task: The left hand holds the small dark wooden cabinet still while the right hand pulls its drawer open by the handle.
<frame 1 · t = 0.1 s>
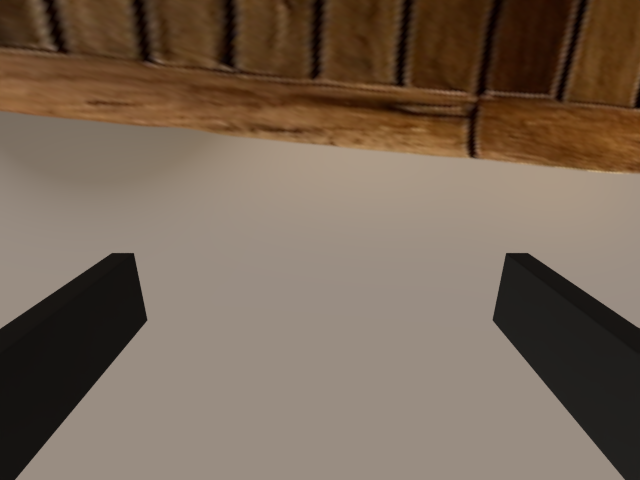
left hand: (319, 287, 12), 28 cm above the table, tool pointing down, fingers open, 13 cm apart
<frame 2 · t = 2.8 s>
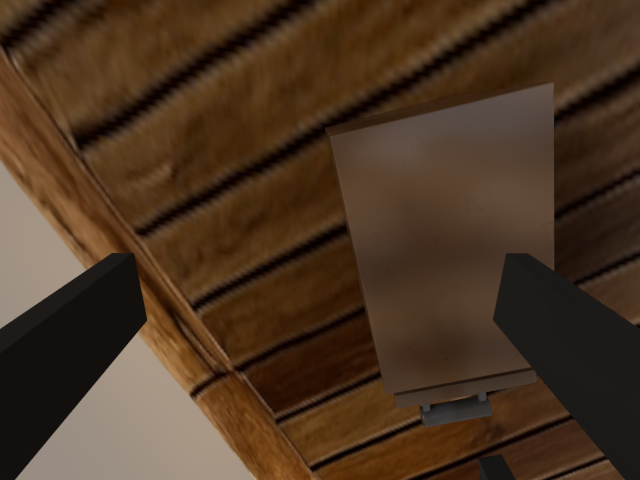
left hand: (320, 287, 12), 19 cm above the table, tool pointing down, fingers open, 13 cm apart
cabinet: (405, 209, 31), on the table
drawer: (435, 302, 28), point 6 cm above the table, slide at 1.3 cm
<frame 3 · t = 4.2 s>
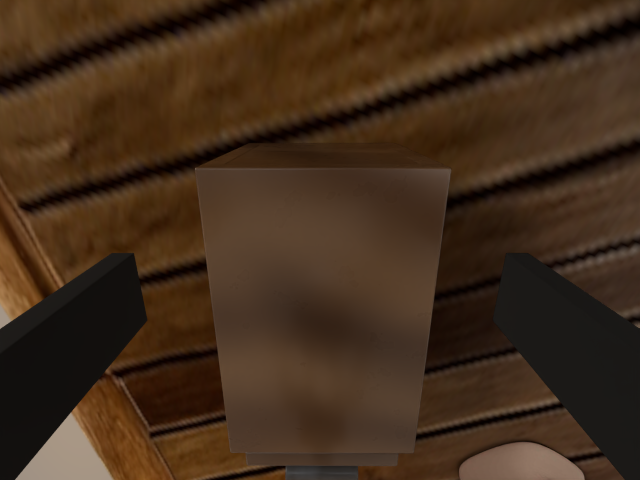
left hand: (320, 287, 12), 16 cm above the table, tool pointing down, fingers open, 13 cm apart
cabinet: (322, 248, 29), on the table
drawer: (321, 355, 26), point 6 cm above the table, slide at 1.3 cm
anatomical model: (516, 477, 39), on the table
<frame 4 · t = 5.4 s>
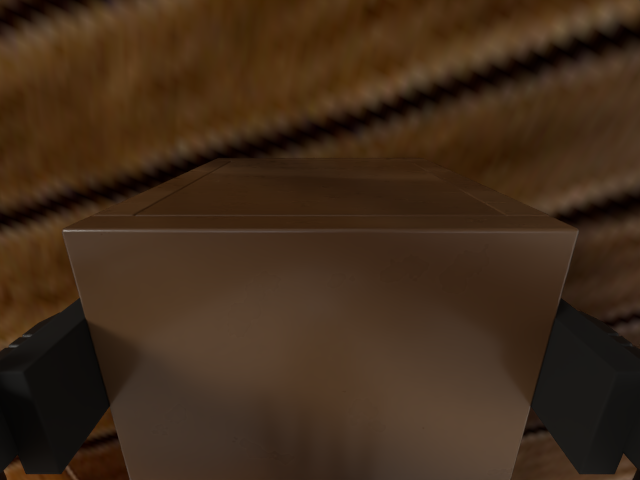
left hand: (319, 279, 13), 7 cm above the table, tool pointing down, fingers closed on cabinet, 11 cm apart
cabinet: (320, 297, 22), on the table, touching left hand
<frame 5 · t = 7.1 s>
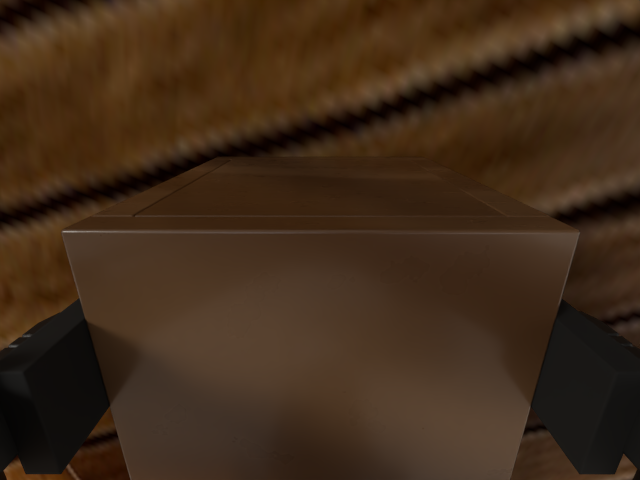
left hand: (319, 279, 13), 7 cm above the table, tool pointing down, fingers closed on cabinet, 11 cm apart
cabinet: (320, 296, 22), on the table, touching left hand
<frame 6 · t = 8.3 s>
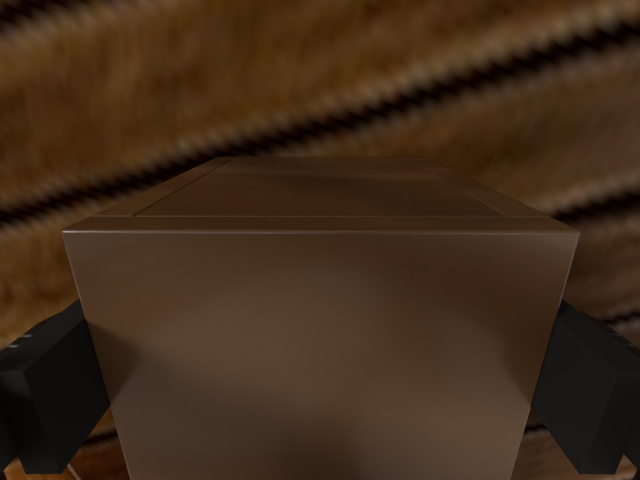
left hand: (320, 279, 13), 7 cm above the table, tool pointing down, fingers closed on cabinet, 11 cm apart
cabinet: (320, 296, 22), on the table, touching left hand
when the left hand's fingers open (7 cm above the table, at t = 10.1 s): cabinet stays where it is, on the table.
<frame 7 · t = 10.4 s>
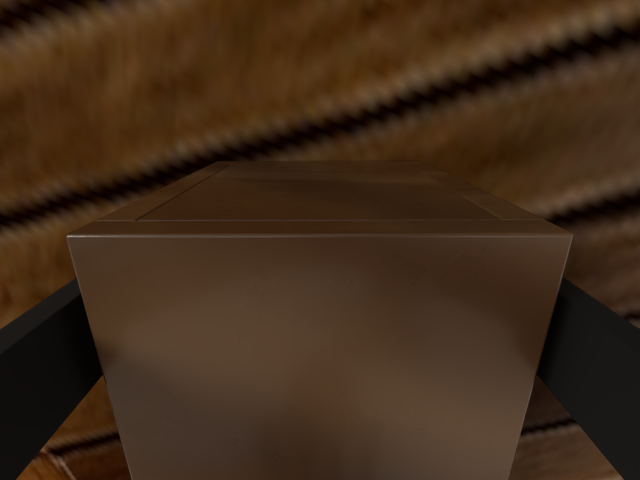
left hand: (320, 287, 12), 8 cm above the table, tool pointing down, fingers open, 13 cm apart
cabinet: (319, 299, 22), on the table
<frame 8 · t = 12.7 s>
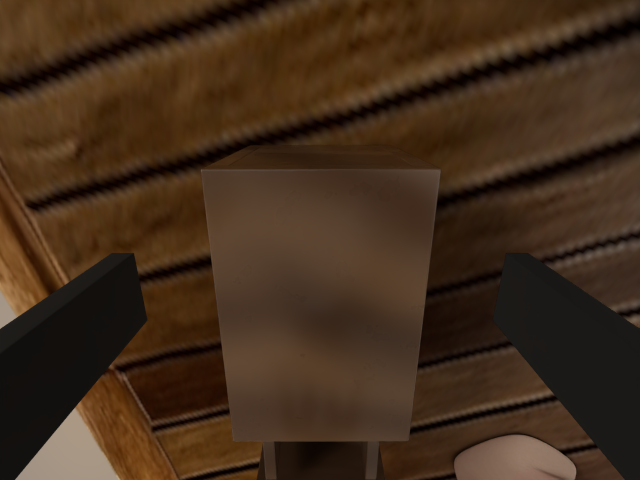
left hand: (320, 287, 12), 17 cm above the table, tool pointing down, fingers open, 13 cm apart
cabinet: (320, 246, 30), on the table
drawer: (320, 406, 29), point 6 cm above the table, slide at 7.0 cm
anatomical model: (510, 469, 40), on the table
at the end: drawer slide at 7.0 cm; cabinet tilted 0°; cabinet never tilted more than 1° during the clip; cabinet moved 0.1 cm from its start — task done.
